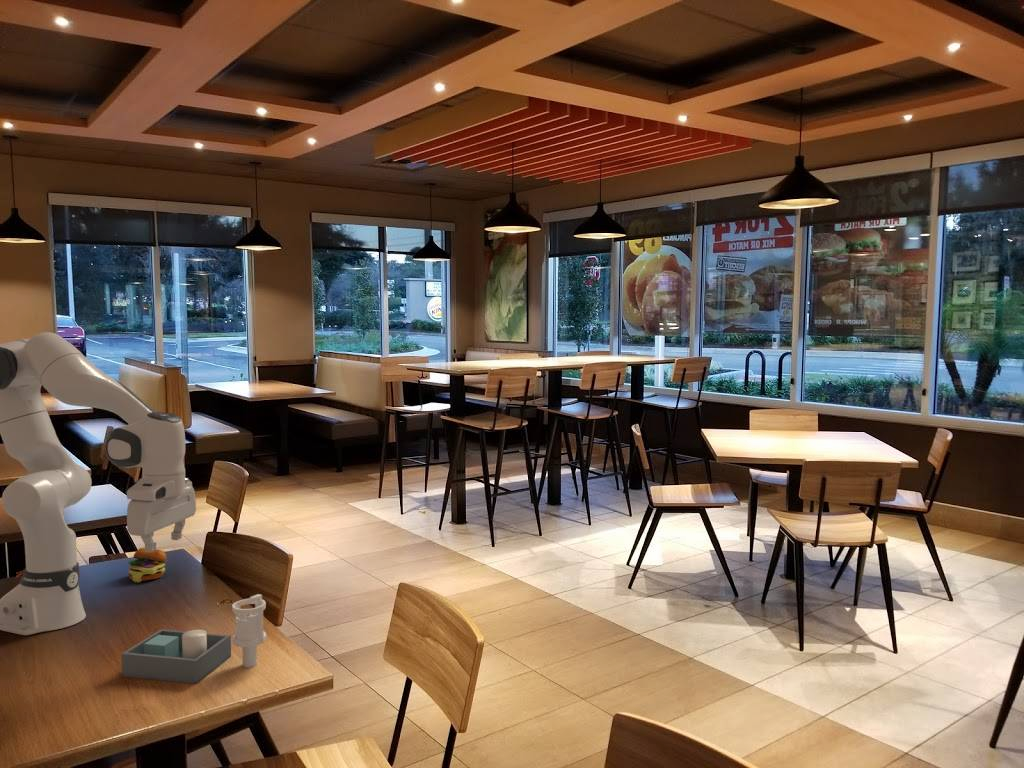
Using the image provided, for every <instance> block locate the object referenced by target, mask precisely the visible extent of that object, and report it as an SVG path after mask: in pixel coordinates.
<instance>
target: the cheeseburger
mask: <svg viewBox="0 0 1024 768" xmlns="http://www.w3.org/2000/svg"><path fill="white" fill-rule="evenodd" d="M133 558H134V560H130V561H128V564H129V568H130V569H129V570H128V573H129V574H128V576H129V579H130V580H132V581H133V582H134V583H136V582H137V583H136V584H139V583H141V582H143V581H144V582H145V581H149V580H151V581H152V580H156V579H160V578H162V577H163V576H164V573H165V571H166V568H165V566H166V563H165V562H168V561H169V559H167V554H166V552H165V551H164V550H162V549H157V548H156V550H154V551H152V552H146V551H145V547H140V548H138V549H137V550H136V551H135V552H134V554H133Z"/></svg>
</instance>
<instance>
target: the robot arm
mask: <svg viewBox="0 0 1024 768" xmlns="http://www.w3.org/2000/svg"><path fill="white" fill-rule="evenodd" d="M42 386H43V388H44V389H45V390H46V391H47V392H48V393H49V394H50V395H51V396H52V397H53V398H54V399H56V400H57V401H60V403H63V404H65V405H68V406H73V407H74V406H75V407H84V408H95V409H100V410H105V411H108V412H111V413H113V414H115V415H117V416H119V417H120V418H121V419H122V420H123V421H125V422H126V423H127V424H125V425H122V426H119V427H116V428H114V429H112V430H111V431H110V433H109V434H108V435H107V437H106V440H105V447H104V448H105V453H106V457H107V459H108V460H109V461H110V463H112V465H114V466H115V467H118V468H124V469H131V468H135V467H136V468H137V467H141V468H142V469H141V470H142V473H141V474H142V476H141V478H139V480H138V481H137V482H136V483H135V484H133V485H132V486H131V487H129V488H128V489H127V491H126V499H128V500H130V501H129V502H128V504H127V508H126V527H127V532H128V533H129V535H131V536H137V537H140V538H141V540H142V542H143V543H144V548H145V551H146V552H152V551H154V550H156V549H157V542H155V541H154V539H153V537H154V535H155V533H154V532H156V531H159V530H162V529H164V528H167V527H168V526H172V525H174V528H173V530H172V531H171V533H170V536H171V537H170V538H171V540H172V541H179V540H181V539H182V538H183V530H184V527H185V525H186V519H189V518H191V517H194V516H195V515H196V511H197V501H196V500H197V499H196V492H195V489H194V487H193V482H192V481H191V480H190V479H189V477H186V468H185V465H184V458H185V456H186V433H185V426H184V422H183V420H182V418H181V416H178V415H177V414H175V413H171V412H165V411H156V410H155V409H153V408H152V407H151V406H150V405H149V404H147V403H146V402H145V401H144V400H143V399H141V398H140V396H138V395H137V394H136V393H134V392H133V391H132V390H131V389H129V388H128V387H127V386H125V385H124V384H122V383H121V382H120V381H118V380H117V379H115V378H113V377H111V376H110V375H108V374H106V373H105V372H103V371H102V369H100V368H98V366H96V365H95V364H93V362H91V361H90V360H89V359H88V358H87V357H86V356H85V355H84V354H83V353H82V352H81V351H80V350H79V349H78V348H77V347H75V345H73V344H72V343H70V342H69V341H68V340H67V339H65V338H64V337H62V336H61V335H59V334H57V333H55V332H49V331H45V332H40V333H37V334H35V335H33V336H31V337H30V338H22V339H16V340H13V341H7V342H4V343H3V342H2V343H0V436H1V440H2V441H3V442H2V443H3V444H4V447H5V451H6V452H7V454H8V456H9V457H11V458H13V459H14V460H17V461H18V462H19V463H20V464H22V466H23V467H24V468H25V470H26V471H27V473H28V474H26V475H22V476H21V477H19V478H18V479H16V480H15V481H13V482H11V483H10V484H8V486H6V488H5V489H4V491H3V492H2V495H1V505H2V507H3V510H4V511H5V512H6V514H7V515H8V516H10V517H11V518H12V519H14V520H15V521H16V522H17V524H18V527H19V529H20V530H21V534H22V537H23V541H24V554H25V568H24V569H23V570H21V571H18V572H16V578H20V577H21V578H20V582H19V584H17V585H16V586H15V587H14V588H12V589H11V590H10V591H8V592H7V593H6V594H5V595H3V596H2V597H1V598H0V631H3V632H8V633H13V634H17V635H22V636H29V635H34V634H37V633H38V634H39V633H44V632H50V631H55V630H59V629H64V628H68V627H71V626H73V625H76V624H78V623H80V622H82V621H83V620H84V619H86V617H87V613H86V612H85V609H84V604H83V601H82V597H81V592H80V586H79V581H80V564H79V562H78V561H77V560H78V557H77V554H78V553H77V550H78V549H77V536H76V532H75V531H74V530H73V529H72V528H70V527H69V526H68V524H67V523H66V520H65V515H64V509H66V508H68V507H71V506H74V505H76V504H78V503H79V502H80V501H81V500H83V499H84V498H85V497H86V496H87V495H88V494H89V493H90V491H91V488H92V477H91V474H90V473H89V471H88V470H87V469H86V468H84V467H83V466H81V465H79V464H77V462H75V460H73V458H72V457H71V456H70V455H69V453H68V452H67V450H66V449H65V448H64V447H63V445H62V443H61V442H60V440H59V437H58V436H57V433H56V430H55V428H54V426H53V423H52V420H51V418H50V415H49V413H48V410H47V407H46V404H45V402H44V400H43V398H42V394H41V388H42Z"/></svg>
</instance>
